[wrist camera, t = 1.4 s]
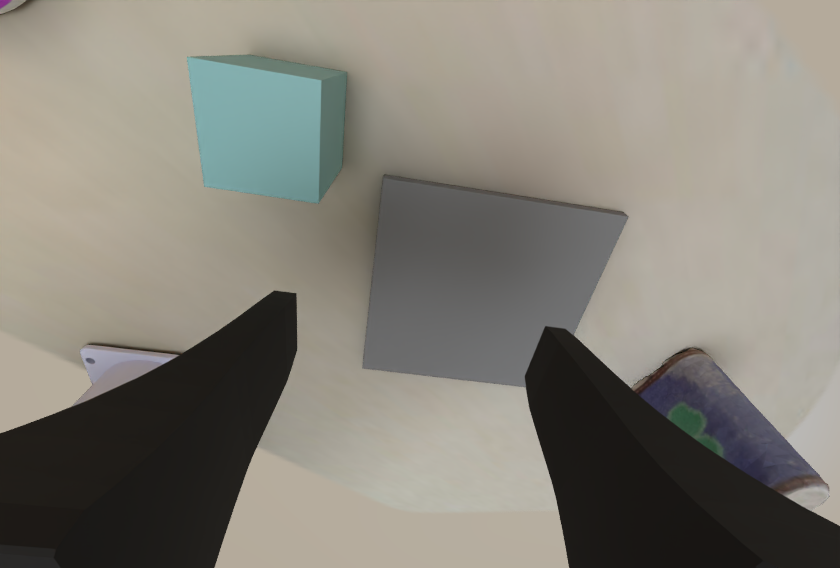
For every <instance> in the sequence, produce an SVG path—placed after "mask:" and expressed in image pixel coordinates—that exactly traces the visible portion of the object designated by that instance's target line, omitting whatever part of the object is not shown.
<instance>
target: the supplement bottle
mask: <svg viewBox="0 0 840 568" xmlns="http://www.w3.org/2000/svg"><path fill="white" fill-rule="evenodd" d="M25 1H26V0H0V14H2V13H5V12H8V11H11V10H13V9H15V8H17V7H18V6H20V5H21V4H22V3H24V2H25Z"/></svg>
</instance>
